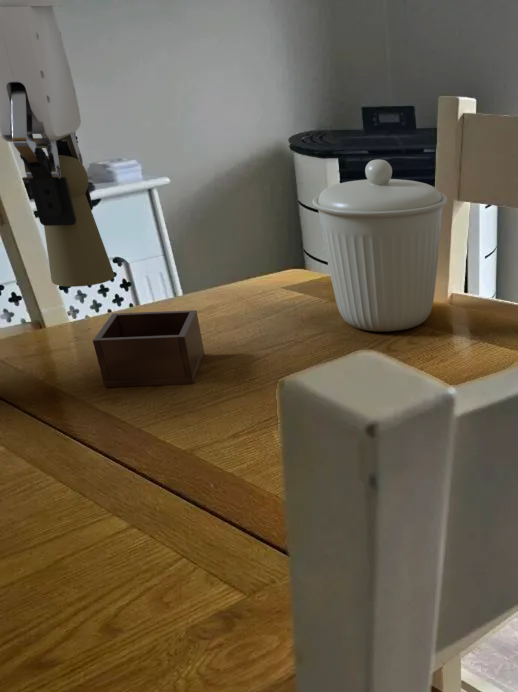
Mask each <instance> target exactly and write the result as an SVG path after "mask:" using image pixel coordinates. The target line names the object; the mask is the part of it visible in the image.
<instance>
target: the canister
mask: <svg viewBox="0 0 518 692" xmlns="http://www.w3.org/2000/svg"><path fill="white" fill-rule="evenodd" d="M364 173H365V177H366V179H358V180H350V181H343V182H340V183H336V184H332V185H330V186H328V187H326V188H324V189H323V190H322V191H321V192H320V194H318V195H317V196H315V197H313V199H312V203H311V204H312V205H313V207H314V208H315V209H316V210H317V211H318V216H319V222H320V227H321V233H322V239H323V242H324V248H325V253H326V259H327V264H328V269H329V274H330V280H331V284H332V289H333V293H334V297H335V298H334V299H335V303H336V306H337V308H338V312H339V314H340V316H341V318H342V319H343V320H344V322H345V323H347V324H348V325H349V326H352V327H353V328H356V329H359V330H363V331H368V332H380V333H381V332H383V333H384V332H385V333H387V332H399V331H404V330H409V329H413V328H415V327H417V326H420V325H421V324H424V322H426V320H427V319H428V317H430V315H431V313H432V309H433V306H434V302H435V301H434V300H435V291H436V282H437V276H438V275H437V273H438V265H439V264H438V263H439V253H440V252H439V251H440V240H441V229H442V219H443V217H442V216H443V208H444V207H445V206H446V205H447V203H448V197H447V195H446V194H444V193H442V192H440V191H439V190H438V189H437V188H436V187H435V186H433V185H430V184H428V183H425V182H421V181H417V180H411V179H410V180H409V179H397V178H392V175H393V168H392V166H391V164H390V163H389V162H388V161H387V160H385V159H373V160H370V161H369V162H368V163H367V164H366V166H365V169H364Z"/></svg>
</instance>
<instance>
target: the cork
mask: <svg viewBox="0 0 518 692" xmlns="http://www.w3.org/2000/svg"><path fill="white" fill-rule="evenodd" d="M46 156H47V157H48V155H46ZM58 157H59V163H60V170H61V177H66V179H67V183H68V187H69V191H70V195H71V199H72V204H73V208H74V212H75V216H76V223H75V224H74V225H54V226H44V225H43V228H44V229H43V230H44V236H45V244H46V250H47V258H48V265H49V272H50V273H49V274H50V281H51V283H52V284H53V285H56V286H60V287H69V288H70V287H72V288H73V287H74V288H75V287H76V288H77V287H89V286H95V285H100V284H104V283H107V282H110V281H111V280H113V279H115V276H116V274H115V272H114V269H113V267H112V264H111V262H110V261H111V260H110V259H109V256H108V252H107V250H106V247H105V245H104V241H103V239H102V237H101V234H100V230H99V228H98V225H97V223H96V219H95V216H94V214H93V210H92V211H91V208H90V206H89V203H88V200H87V197H86V195H85V193H86V190H87V188H89V177H88V171H87V170H86V168H85V166H84V164H83V165H82V164H81V162H80V161H79V160H78V159H76V158H73V157H69V156H63V155H58ZM48 159H49V158H48Z"/></svg>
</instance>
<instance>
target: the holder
mask: <svg viewBox="0 0 518 692" xmlns="http://www.w3.org/2000/svg"><path fill="white" fill-rule="evenodd" d="M202 338H203V337H202V333H201V328H200V321H199V316H198V310H194V309H193V310H191V309H189V310H168V311H165V310H163V311H144V312H142V311H141V312H139V311H138V312H120V313H117V312H116V313H115V312H114V313H112V314H111V315H110V316H109V317H108V319H107V320H106V321H105V323H104V324H103V326H102V327H101V329H100V330H99V331H98V332H97V334H96V336H95V337H94V338H93V339H92V343H93V348H94V351H95V355H96V359H97V363H98V367H99V370H100V374H101V378H102V381H103V385H104V388H105V389H109V388H128V387H129V388H130V387H149V386H152V387H153V386H168V385H169V386H171V385H173V386H174V385H191V384H192V385H193V384H194V383H195V381H196V377H197V375H198V373H199V370H200V368H201V364H202V362H203V360H204V357H205V349H204V344H203V339H202Z"/></svg>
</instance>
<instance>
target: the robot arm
mask: <svg viewBox="0 0 518 692" xmlns="http://www.w3.org/2000/svg"><path fill="white" fill-rule="evenodd" d="M54 7H63V3H62V0H0V138H1V139H2V140H4V141H6V142H9V143H11V142H12V144H13V146H14V148H15V149H16V150H17V151H18V153H19V158H20V160H22V162H23V165H24V172H25V175H26V178H27V180H28V182H29V186H30V190H31V193H32V198H33V201H34V205H35V209H36V213H37V217H38V221H39V222H40V224H41V225H42V226H43V227H44V226H54V225H74V224H75V223H76V216H75V212H74V208H73V204H72V199H71V195H70V191H69V187H68V183H67V179H66V177H61V170H60V163H59V157H58V155H63V156H69V157H73V158H76V159H78V160H79V161H80V162H81V164H82V165H83V166H84V162H83V156H82V153H81V150H80V147H79V140H78V136H77V135H76V133H77V130H79V128H80V127H81V123H82V122H81V120H82V119H81V114H80V106H79V103H78V102H79V101H78V96H77V91H76V87H75V84H74V80H73V76H72V71H71V67H70V63H69V60H68V56H67V52H66V48H65V45H64V41H63V38H62V32H61V30H60V28H59V23H58V20H57V17H56V14H55V11H54ZM34 135H40V137H34ZM44 149H45V150H46V152H47V153H46V152H45V151H44ZM47 156H48V157H47ZM48 158H49V159H48ZM85 195H86V197H87V200H88V203H89V206H90V208H91V211H92V212H93V210H94V205H93V201H92V197H91V192H90V188H89V187H88V188H87V190H86V193H85Z"/></svg>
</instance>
